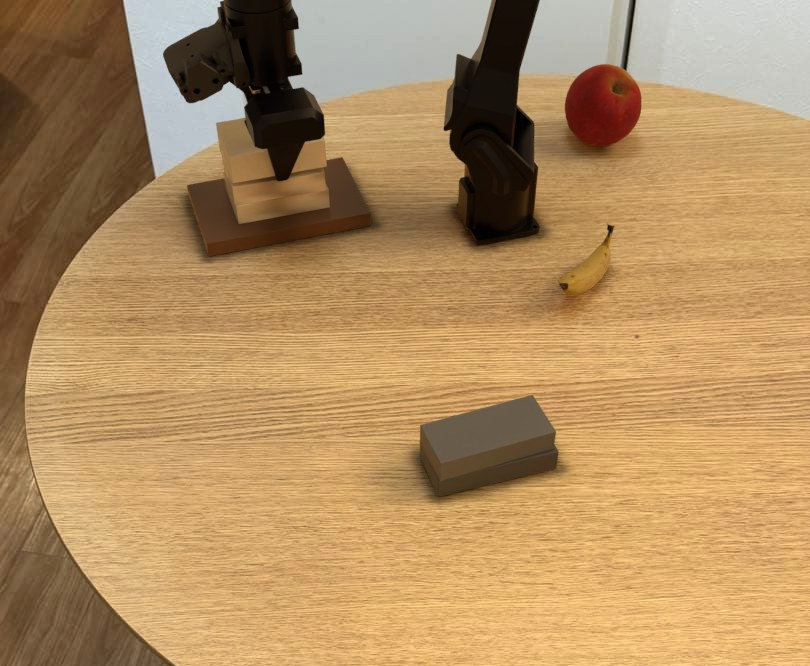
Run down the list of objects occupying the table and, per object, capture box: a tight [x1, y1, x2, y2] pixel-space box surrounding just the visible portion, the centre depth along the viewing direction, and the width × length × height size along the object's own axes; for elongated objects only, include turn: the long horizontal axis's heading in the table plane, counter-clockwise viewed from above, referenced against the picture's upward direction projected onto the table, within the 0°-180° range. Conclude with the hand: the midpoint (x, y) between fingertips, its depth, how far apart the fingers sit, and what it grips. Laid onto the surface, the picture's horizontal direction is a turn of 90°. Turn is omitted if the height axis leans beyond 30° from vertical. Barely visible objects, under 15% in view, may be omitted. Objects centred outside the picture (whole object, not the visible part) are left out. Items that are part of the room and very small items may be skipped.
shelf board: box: [186, 155, 372, 257], centre depth 112 cm, size 16×10×6 cm, turn 108°
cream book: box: [215, 117, 327, 183], centre depth 108 cm, size 9×6×3 cm, turn 107°
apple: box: [564, 63, 642, 148], centre depth 119 cm, size 8×8×8 cm
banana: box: [557, 223, 615, 296], centre depth 105 cm, size 10×2×4 cm, turn 149°
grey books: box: [419, 394, 559, 498], centre depth 91 cm, size 10×5×4 cm, turn 107°
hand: (274, 161), depth 109 cm, fingers closed on cream book, 6 cm apart
